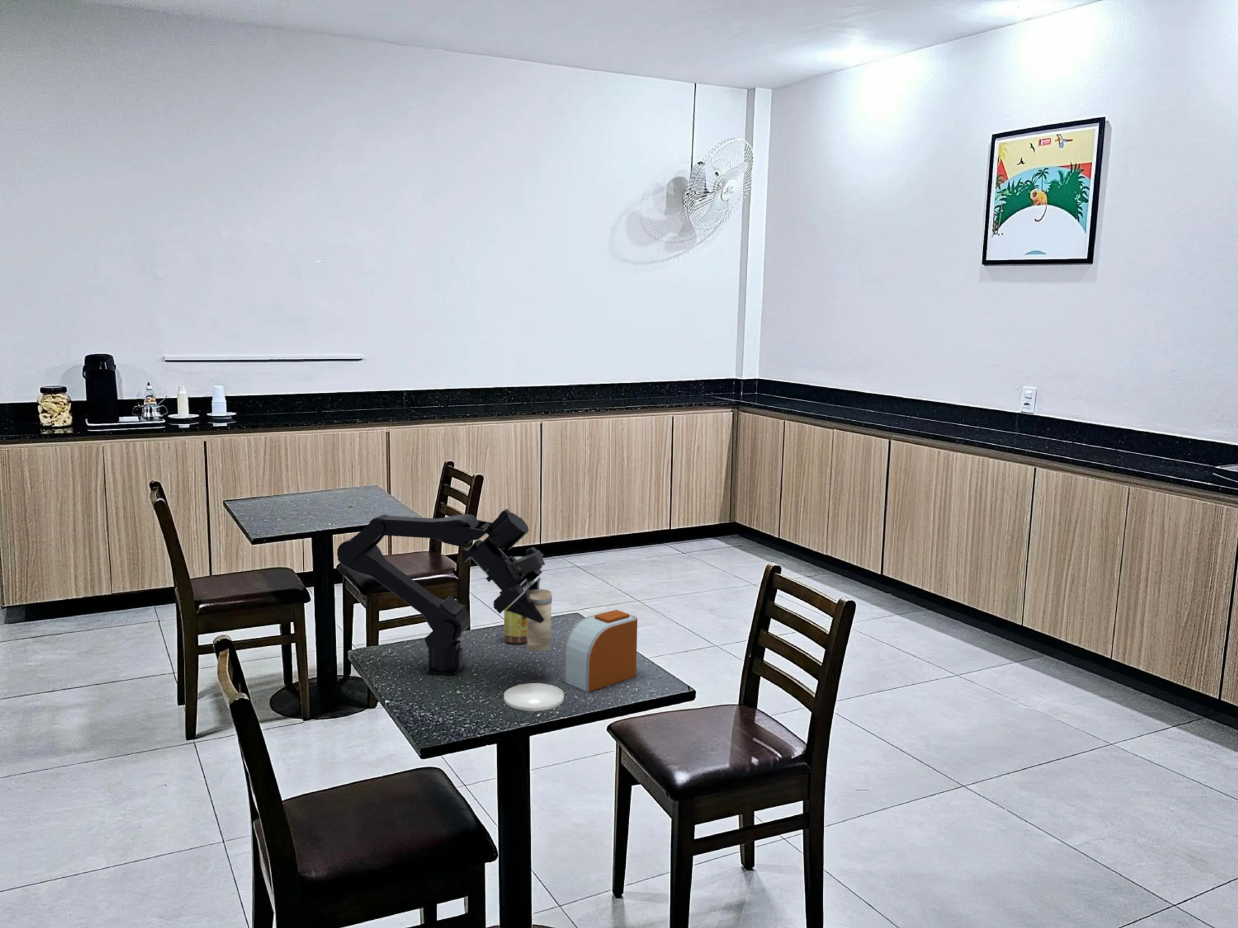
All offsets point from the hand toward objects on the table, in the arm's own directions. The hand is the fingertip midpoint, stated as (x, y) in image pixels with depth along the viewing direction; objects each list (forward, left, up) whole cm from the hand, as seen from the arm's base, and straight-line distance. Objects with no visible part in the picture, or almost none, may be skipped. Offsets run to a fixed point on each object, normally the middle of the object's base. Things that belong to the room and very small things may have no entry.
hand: (545, 617), depth 211 cm
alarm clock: (+12, +3, -14) cm, 18 cm away
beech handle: (-1, 0, -7) cm, 7 cm away
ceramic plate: (+1, -12, -13) cm, 18 cm away
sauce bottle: (-12, +22, -14) cm, 29 cm away
